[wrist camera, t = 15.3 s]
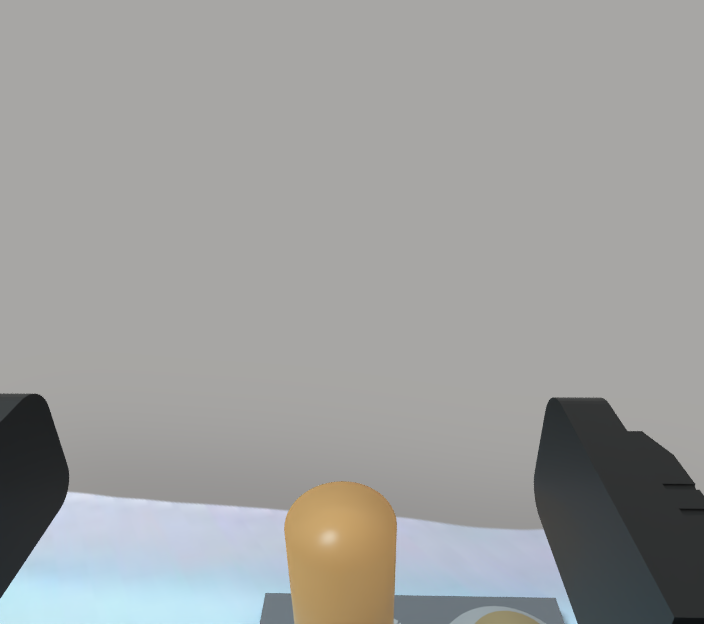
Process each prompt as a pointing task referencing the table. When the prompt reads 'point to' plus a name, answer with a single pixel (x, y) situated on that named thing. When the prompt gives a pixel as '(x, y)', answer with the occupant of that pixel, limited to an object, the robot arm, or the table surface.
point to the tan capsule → (341, 555)
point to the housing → (441, 610)
